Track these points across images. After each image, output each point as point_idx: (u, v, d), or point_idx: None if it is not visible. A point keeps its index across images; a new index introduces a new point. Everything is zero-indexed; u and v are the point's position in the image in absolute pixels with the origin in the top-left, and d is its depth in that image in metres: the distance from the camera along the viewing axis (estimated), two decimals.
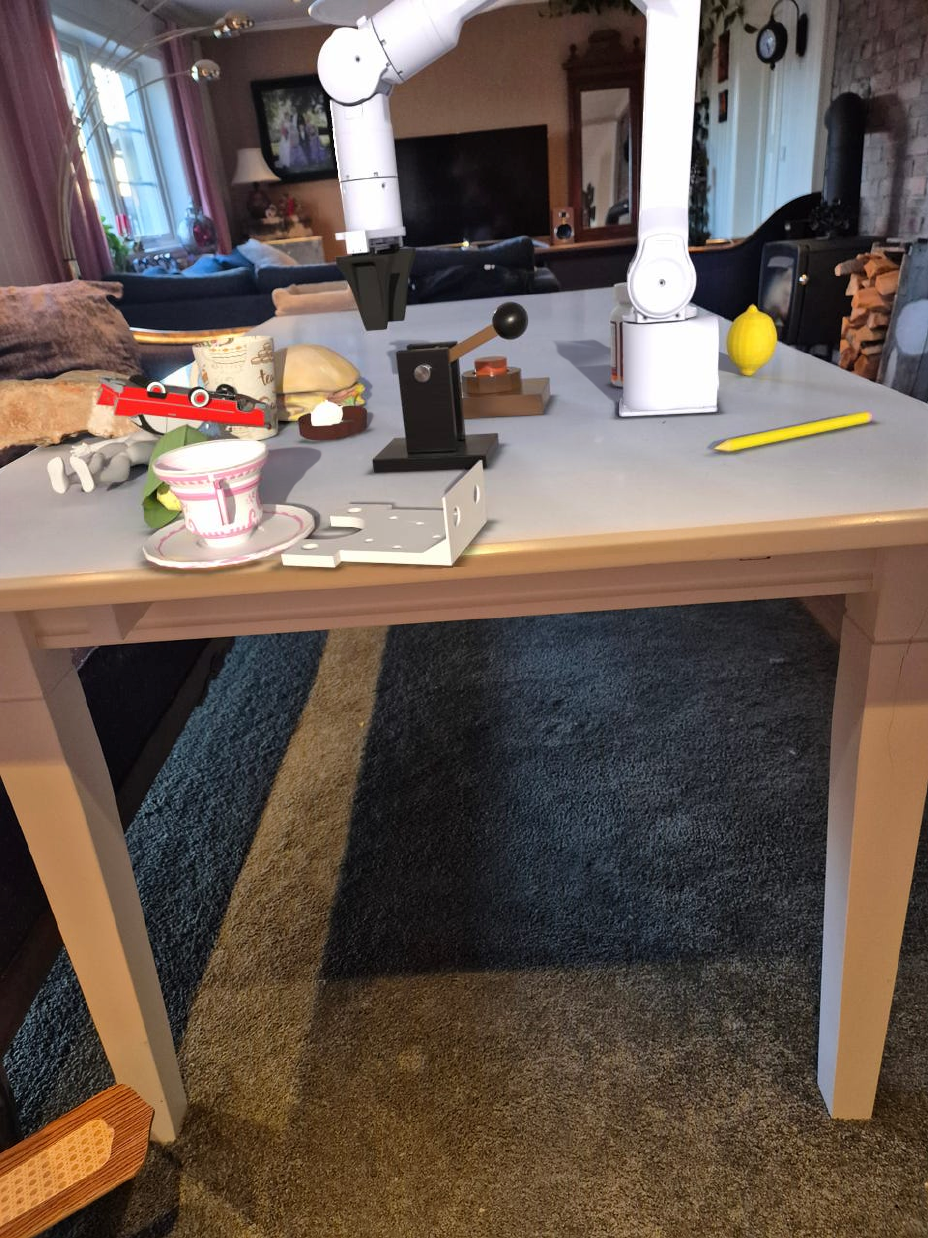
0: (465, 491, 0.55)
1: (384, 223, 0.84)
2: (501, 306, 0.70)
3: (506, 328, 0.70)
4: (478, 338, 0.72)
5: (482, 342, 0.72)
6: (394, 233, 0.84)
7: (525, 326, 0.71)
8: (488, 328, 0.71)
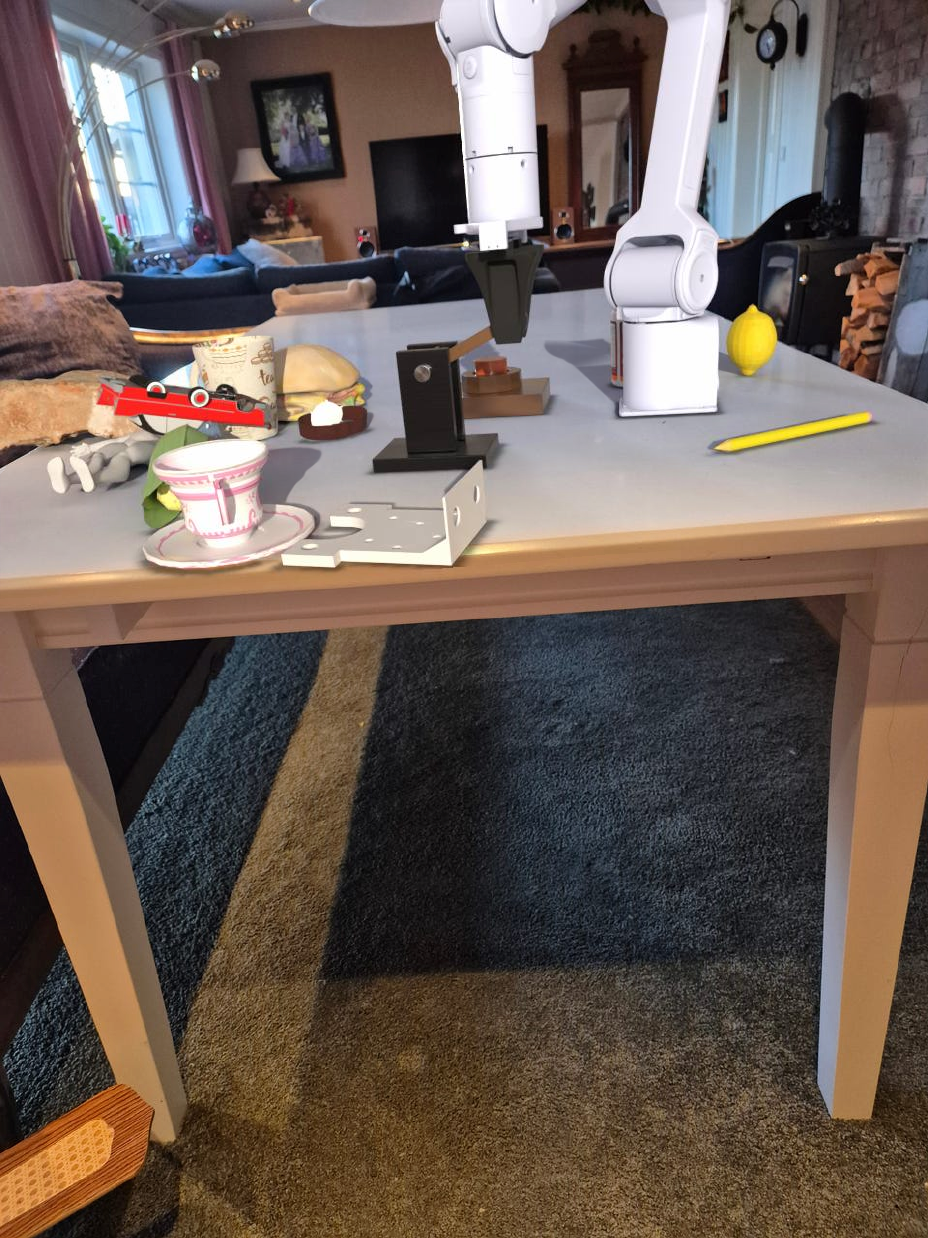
0: (465, 491, 0.55)
1: (521, 212, 0.66)
2: None
3: None
4: (478, 338, 0.72)
5: (482, 342, 0.72)
6: (533, 225, 0.66)
7: (525, 326, 0.71)
8: (488, 328, 0.71)
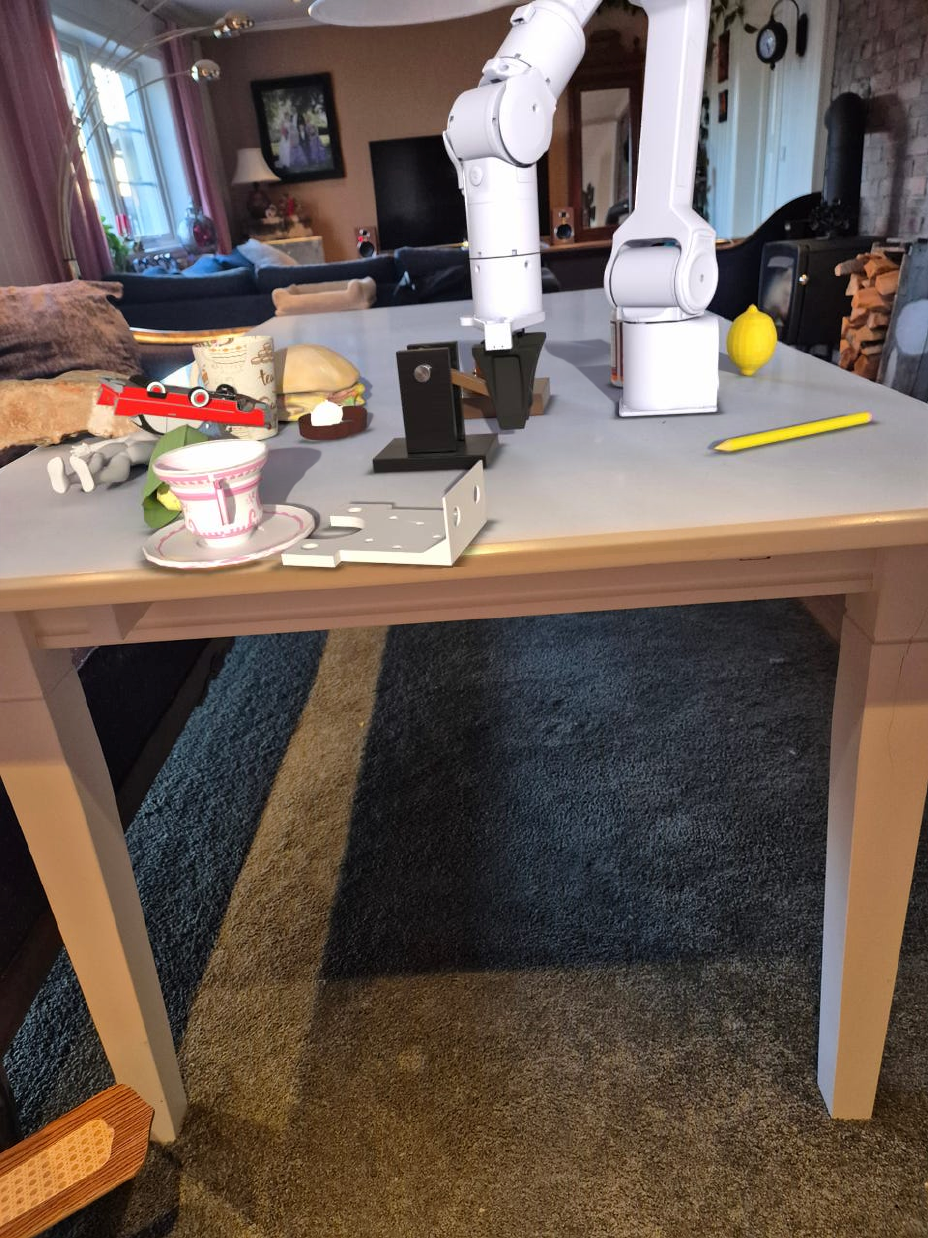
0: (465, 491, 0.55)
1: (524, 309, 0.69)
2: None
3: None
4: (483, 387, 0.74)
5: (483, 393, 0.74)
6: (536, 320, 0.69)
7: None
8: None
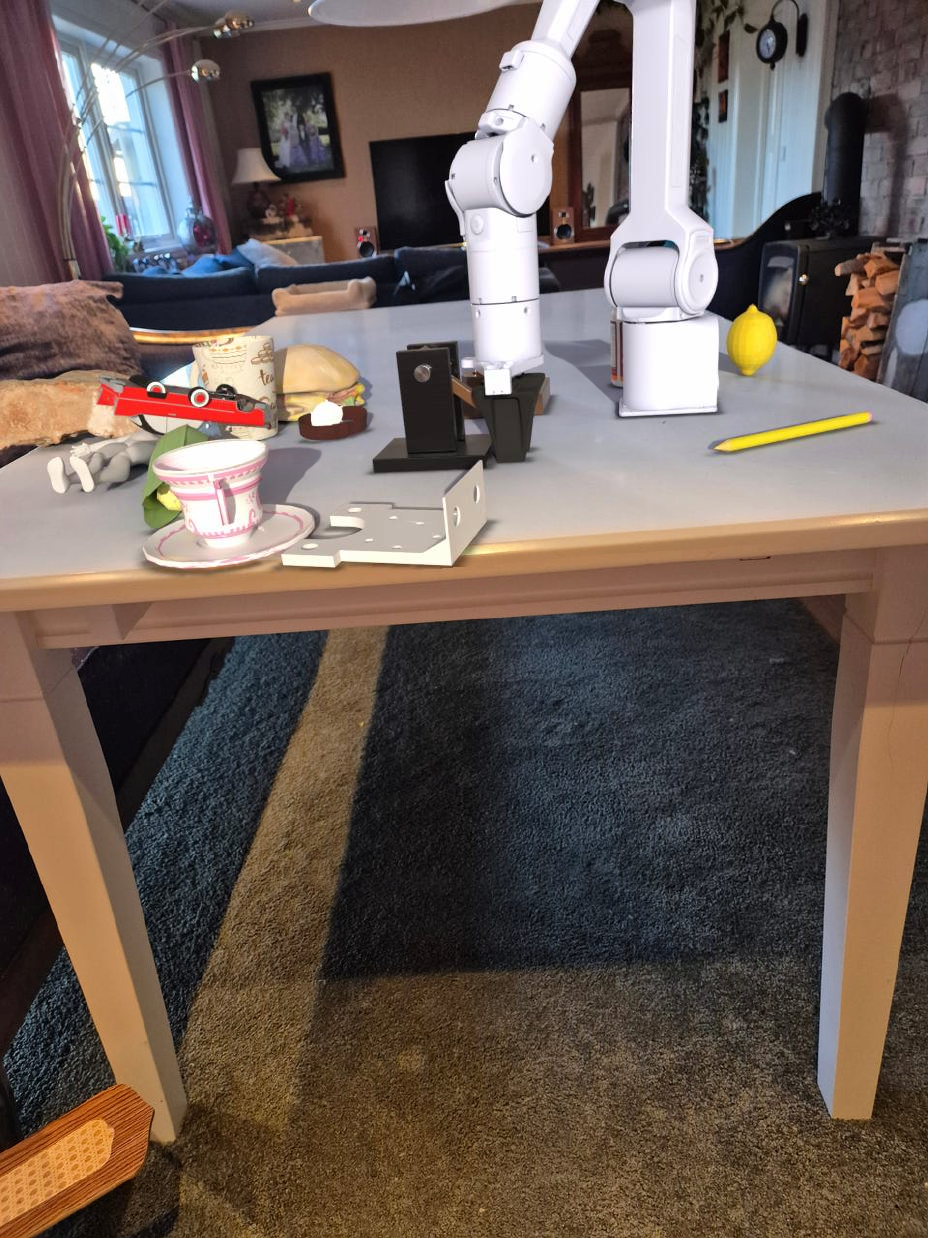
0: (465, 491, 0.55)
1: (523, 353, 0.70)
2: None
3: None
4: None
5: (476, 407, 0.74)
6: (535, 364, 0.71)
7: None
8: None
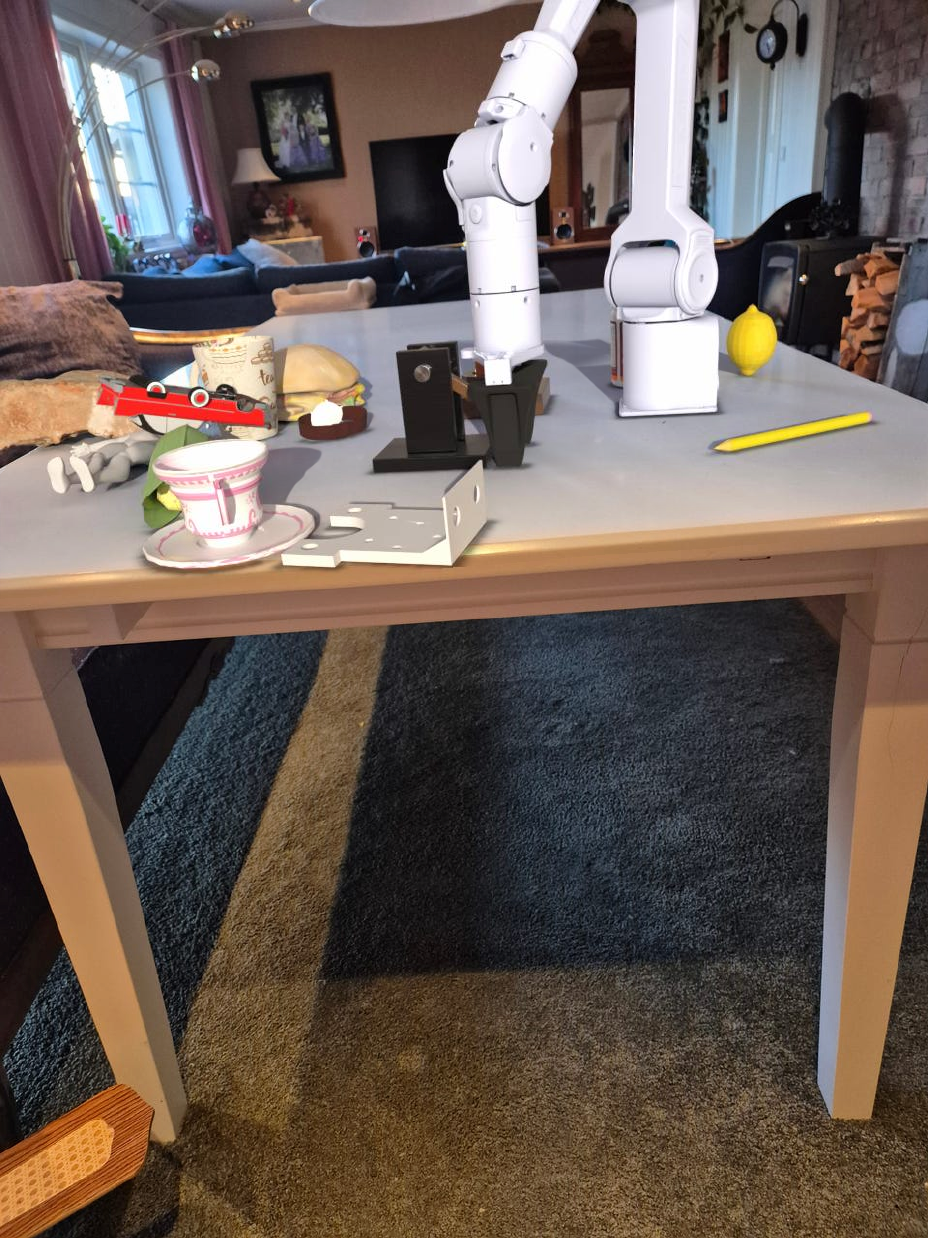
0: (465, 491, 0.55)
1: (523, 343, 0.70)
2: None
3: None
4: None
5: None
6: (535, 354, 0.70)
7: None
8: None
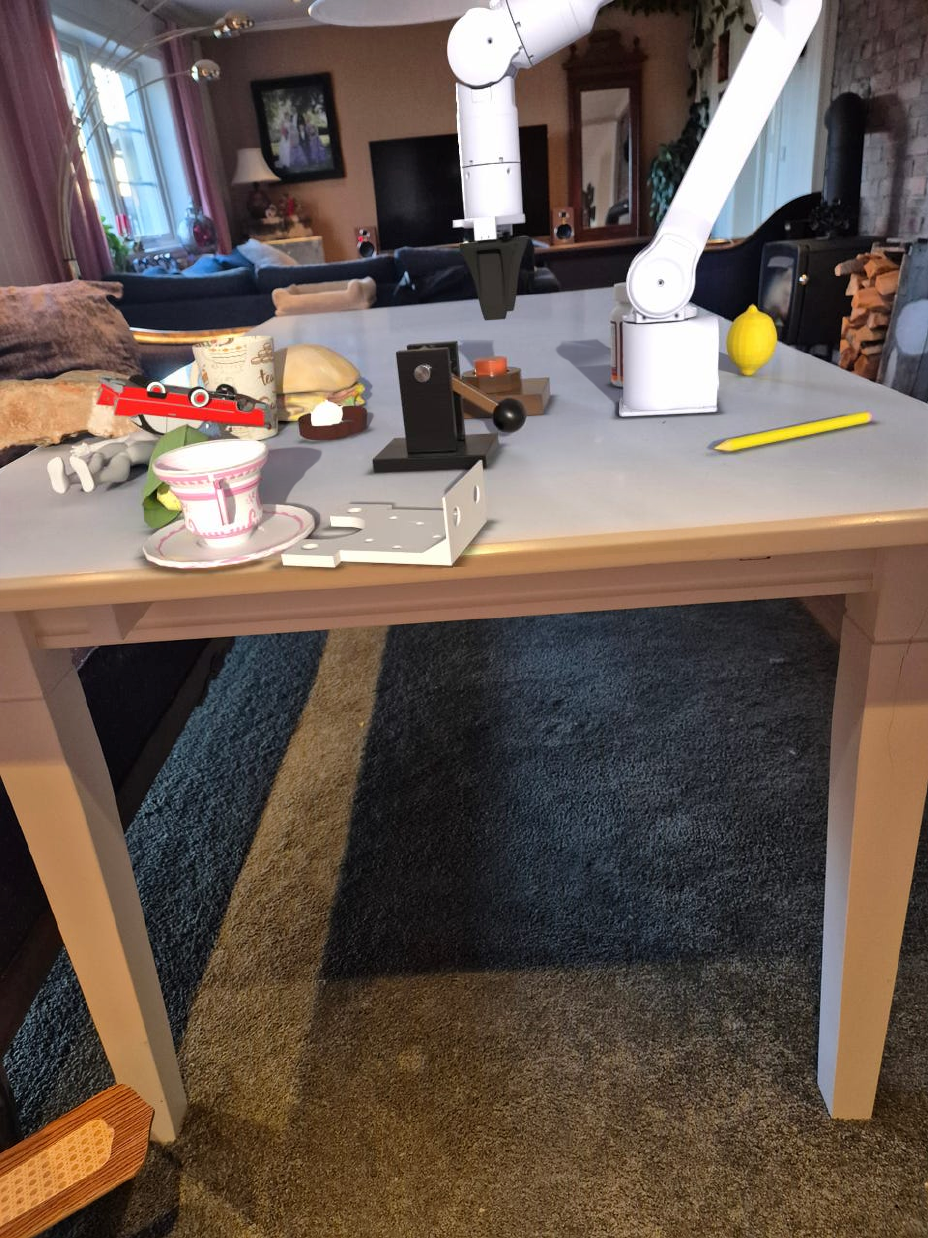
0: (465, 491, 0.55)
1: (507, 210, 0.82)
2: (515, 403, 0.74)
3: (501, 420, 0.74)
4: (479, 398, 0.74)
5: (478, 403, 0.74)
6: (517, 220, 0.82)
7: (512, 432, 0.75)
8: (492, 402, 0.74)
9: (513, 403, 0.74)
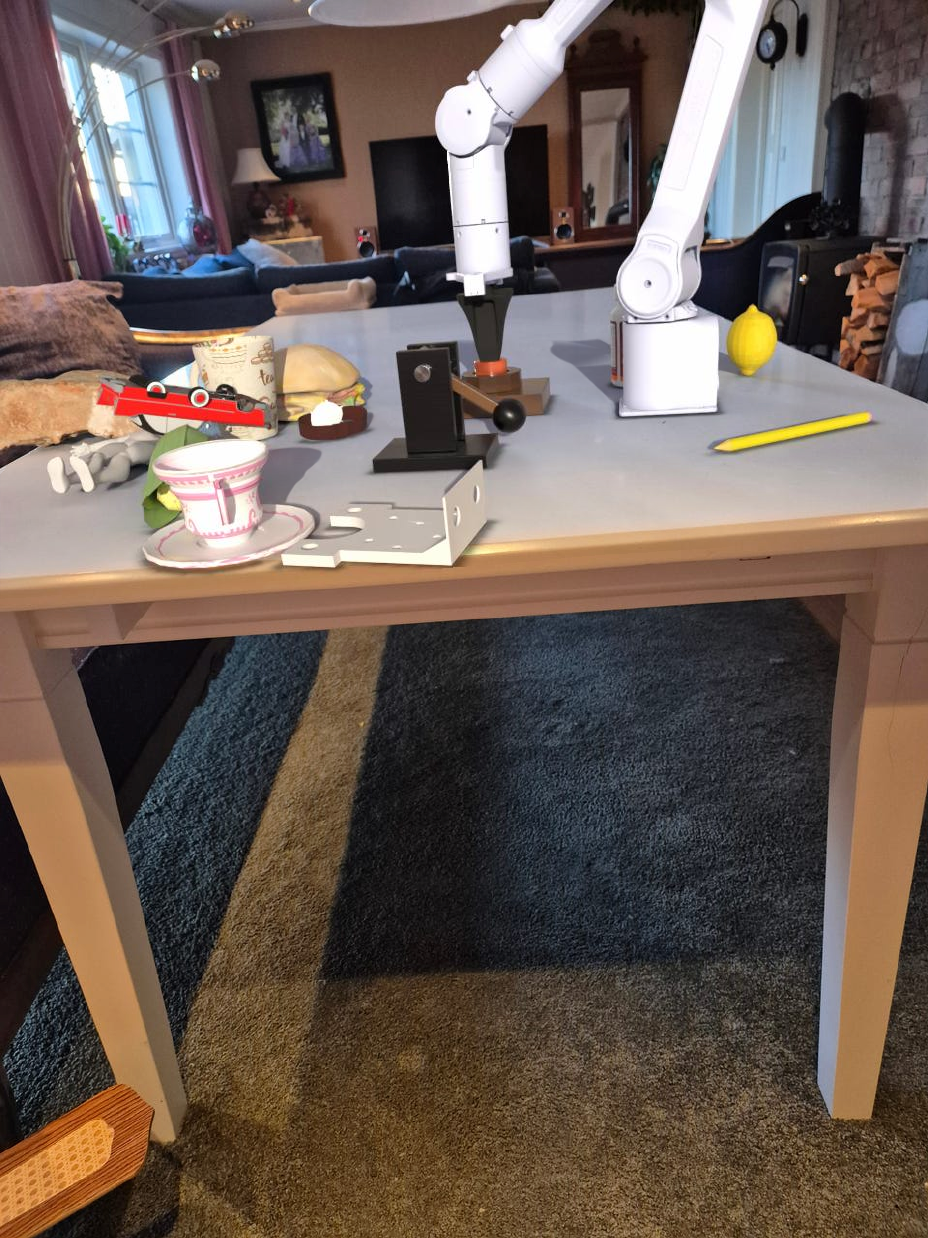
0: (465, 491, 0.55)
1: (495, 266, 0.88)
2: (515, 403, 0.74)
3: (501, 420, 0.74)
4: (479, 398, 0.74)
5: (478, 403, 0.74)
6: (505, 275, 0.89)
7: (512, 432, 0.75)
8: (492, 402, 0.74)
9: (513, 403, 0.74)
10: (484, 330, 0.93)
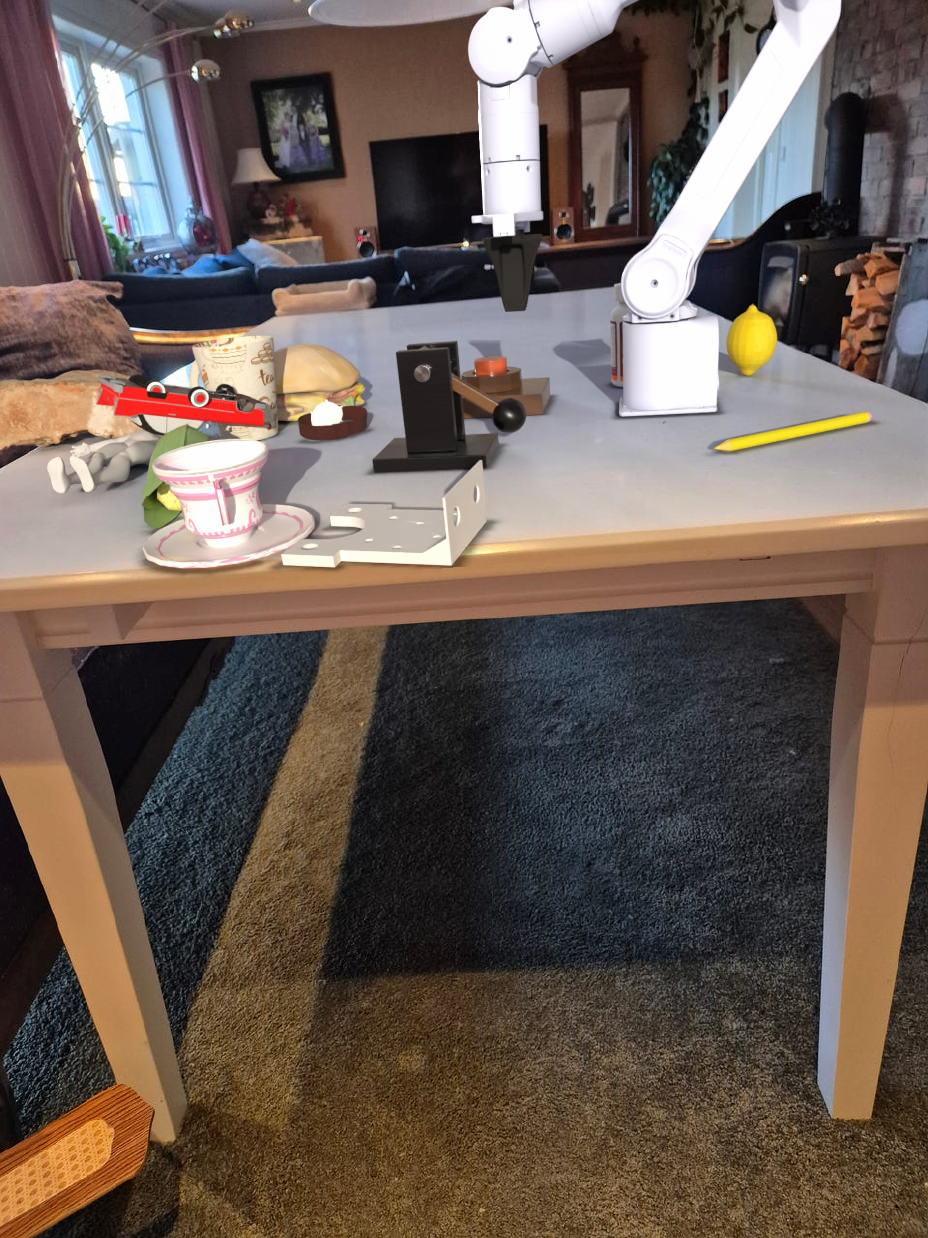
0: (465, 491, 0.55)
1: (525, 207, 0.83)
2: (515, 403, 0.74)
3: (501, 420, 0.74)
4: (479, 398, 0.74)
5: (478, 403, 0.74)
6: (535, 217, 0.83)
7: (512, 432, 0.75)
8: (492, 402, 0.74)
9: (513, 403, 0.74)
10: (511, 278, 0.87)
